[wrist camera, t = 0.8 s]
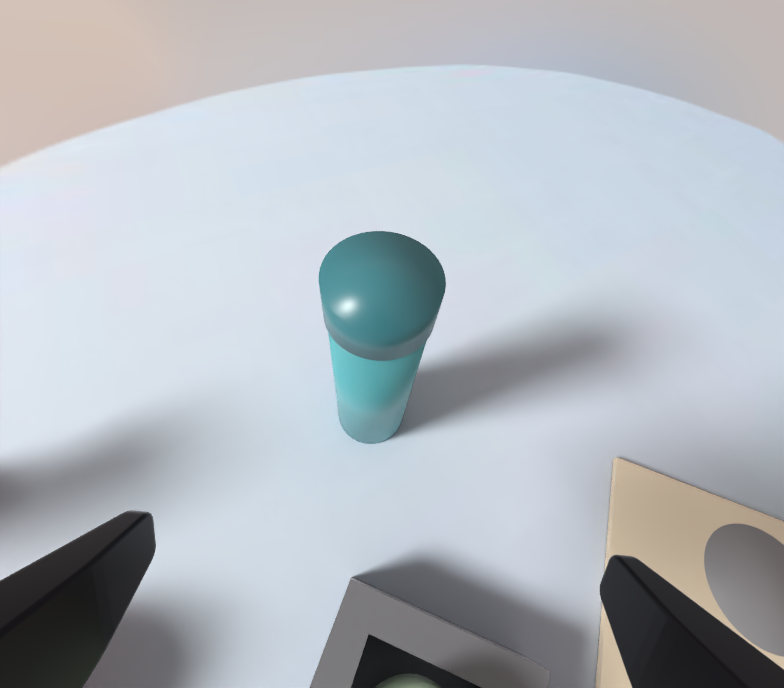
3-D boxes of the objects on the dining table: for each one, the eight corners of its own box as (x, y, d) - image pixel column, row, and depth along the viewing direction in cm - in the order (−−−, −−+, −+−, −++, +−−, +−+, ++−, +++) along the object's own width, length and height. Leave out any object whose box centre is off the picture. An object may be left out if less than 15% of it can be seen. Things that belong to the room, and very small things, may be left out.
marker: (389, 456, 23) (422, 349, 11) (325, 429, 23) (295, 302, 12) (413, 395, 25) (460, 254, 13) (354, 372, 25) (350, 217, 14)
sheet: (901, 984, 14) (916, 995, 14) (584, 824, 16) (589, 830, 15) (819, 538, 22) (826, 537, 22) (613, 459, 23) (617, 457, 23)
